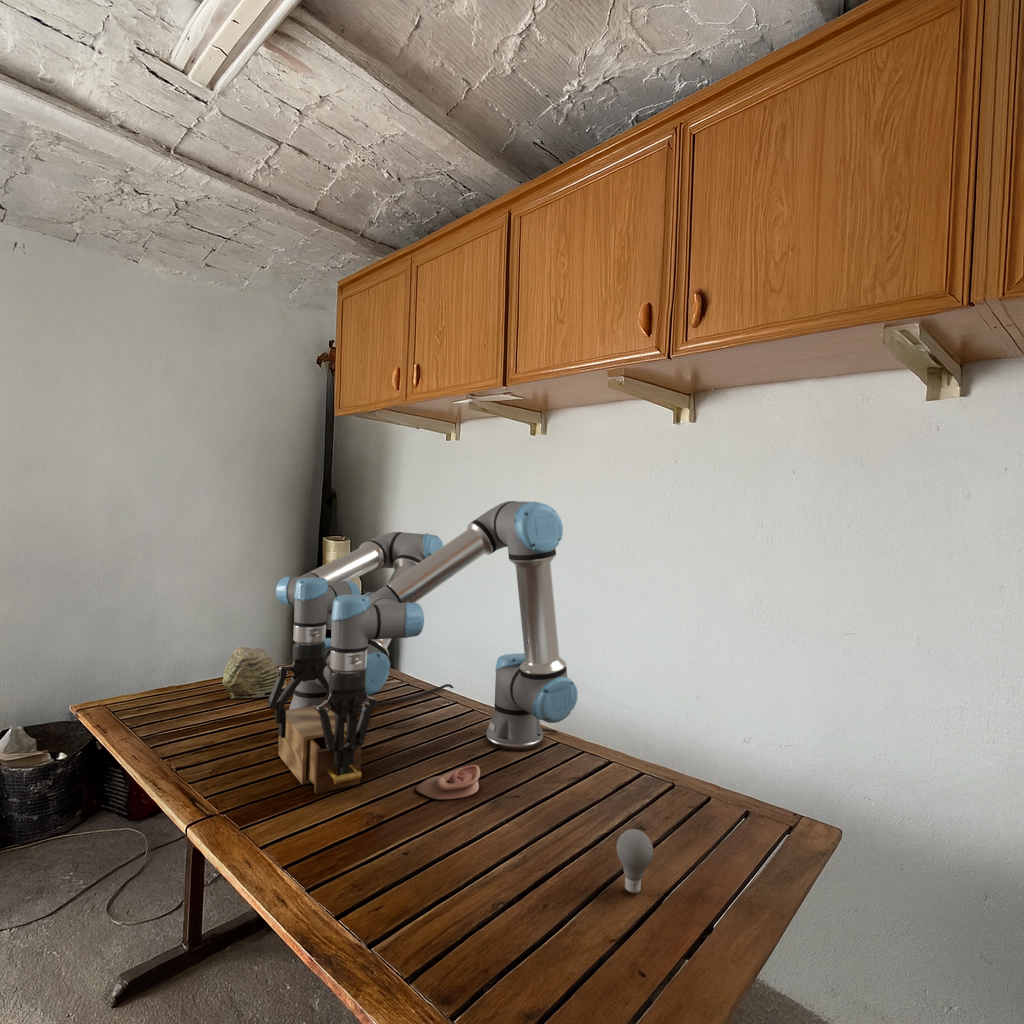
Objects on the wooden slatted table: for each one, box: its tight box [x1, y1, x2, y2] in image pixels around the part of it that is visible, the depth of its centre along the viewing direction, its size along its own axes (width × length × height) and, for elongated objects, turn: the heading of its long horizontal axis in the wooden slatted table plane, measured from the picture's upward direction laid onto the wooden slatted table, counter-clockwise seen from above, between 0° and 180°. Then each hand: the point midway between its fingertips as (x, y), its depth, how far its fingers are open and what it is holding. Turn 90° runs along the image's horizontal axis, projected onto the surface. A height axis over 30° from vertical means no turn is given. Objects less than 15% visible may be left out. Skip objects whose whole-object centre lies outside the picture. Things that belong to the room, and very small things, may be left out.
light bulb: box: [615, 828, 654, 894], centre depth 106 cm, size 6×6×10 cm
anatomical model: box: [415, 764, 481, 800], centre depth 140 cm, size 13×4×12 cm
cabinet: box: [277, 706, 347, 786], centre depth 149 cm, size 19×11×11 cm, turn 36°
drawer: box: [306, 733, 363, 795], centre depth 141 cm, size 23×10×9 cm, turn 36°
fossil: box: [222, 646, 288, 699], centre depth 198 cm, size 9×18×15 cm, turn 132°
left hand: (306, 731), depth 154 cm, fingers closed on cabinet, 11 cm apart
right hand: (343, 780), depth 133 cm, fingers closed
